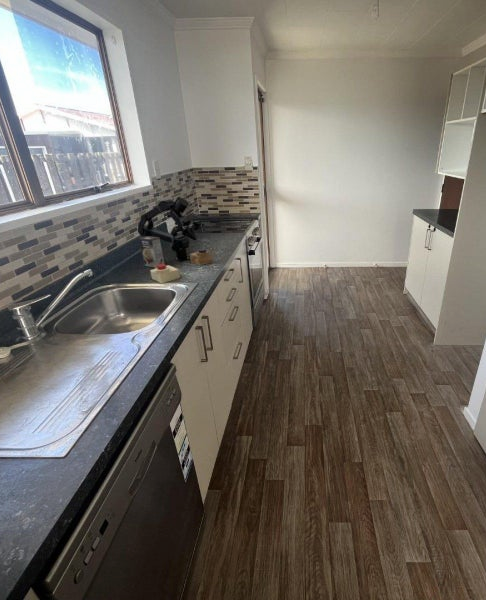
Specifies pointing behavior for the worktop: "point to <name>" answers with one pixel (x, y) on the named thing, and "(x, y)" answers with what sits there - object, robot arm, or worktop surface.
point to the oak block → (200, 258)
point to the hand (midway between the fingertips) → (195, 239)
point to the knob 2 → (202, 250)
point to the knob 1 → (161, 266)
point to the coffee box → (151, 251)
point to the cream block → (165, 274)
